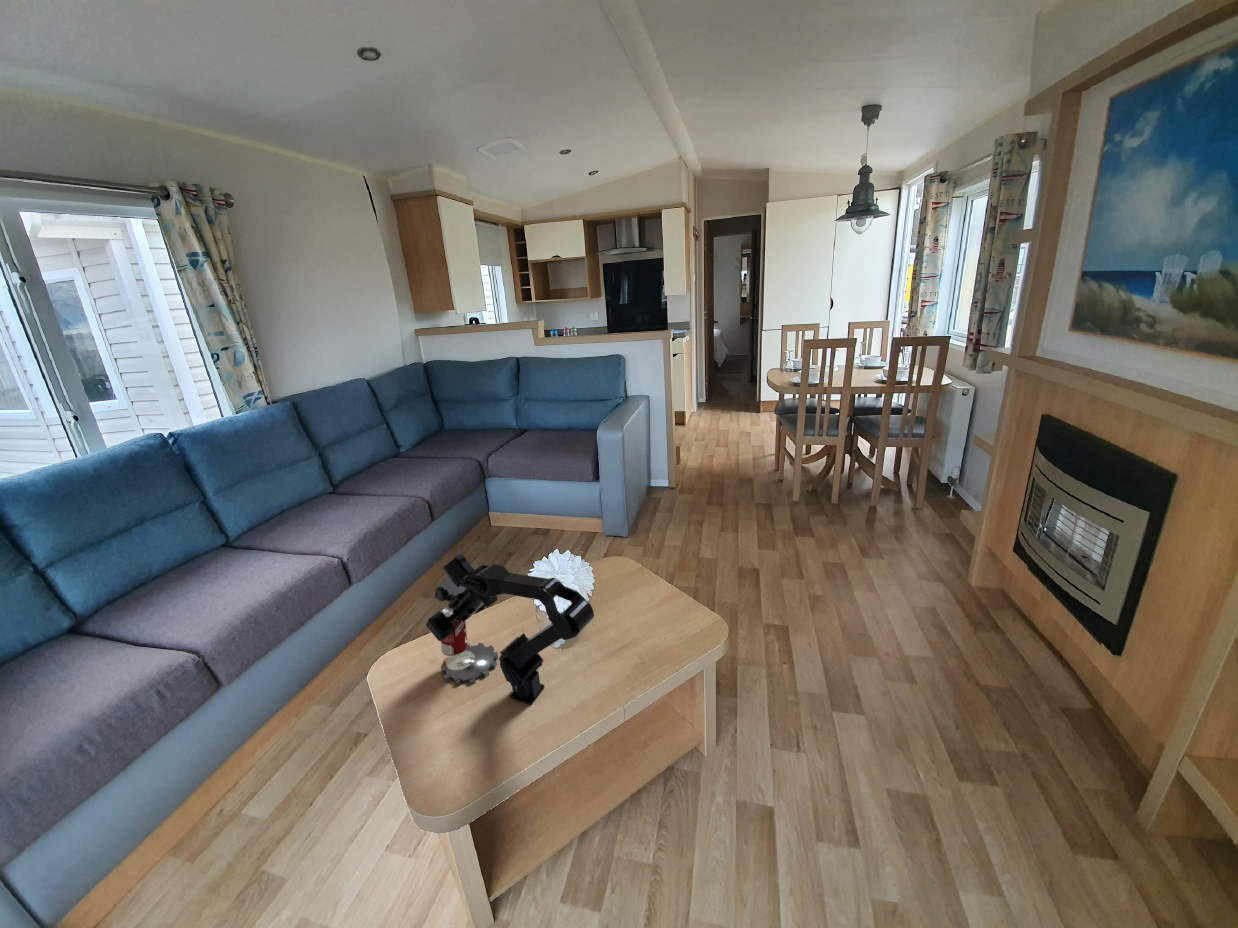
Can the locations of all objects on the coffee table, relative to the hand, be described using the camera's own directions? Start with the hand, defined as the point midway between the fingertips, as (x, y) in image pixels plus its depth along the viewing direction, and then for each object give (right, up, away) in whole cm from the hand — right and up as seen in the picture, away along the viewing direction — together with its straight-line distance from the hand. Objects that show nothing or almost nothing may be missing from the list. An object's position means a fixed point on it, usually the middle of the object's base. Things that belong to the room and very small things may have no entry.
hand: (449, 623), depth 133 cm
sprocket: (+5, -13, +3) cm, 14 cm away
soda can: (+1, -8, +1) cm, 8 cm away
